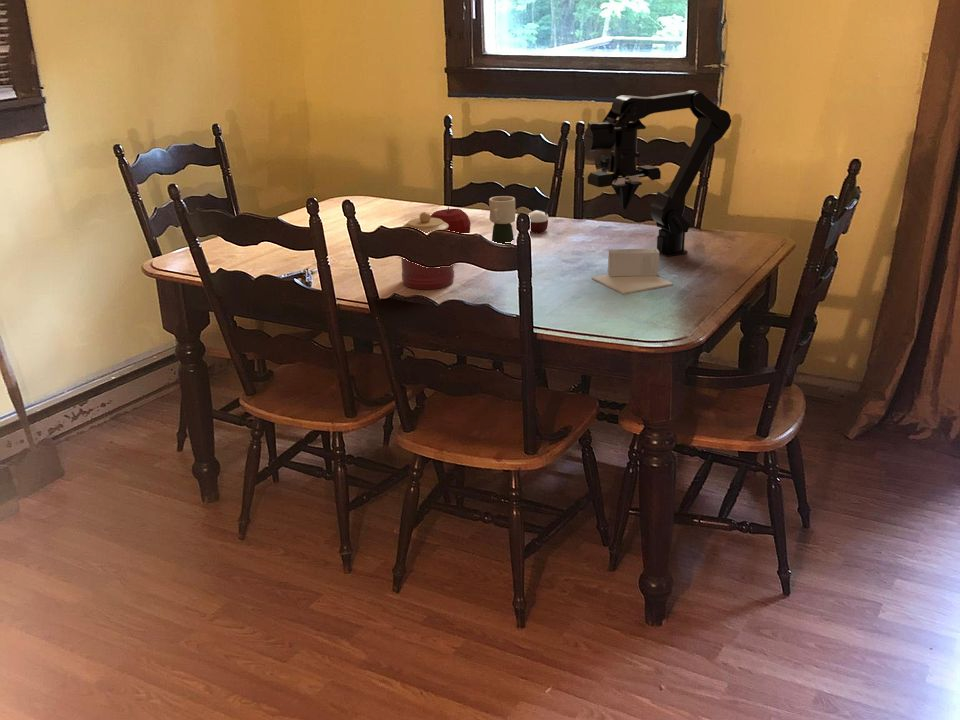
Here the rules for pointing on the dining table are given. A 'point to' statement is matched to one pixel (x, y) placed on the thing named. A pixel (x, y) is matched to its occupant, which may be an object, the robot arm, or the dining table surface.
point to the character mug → (502, 218)
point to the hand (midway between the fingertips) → (623, 209)
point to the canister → (424, 276)
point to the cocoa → (540, 219)
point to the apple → (454, 219)
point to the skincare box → (633, 262)
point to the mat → (631, 283)
